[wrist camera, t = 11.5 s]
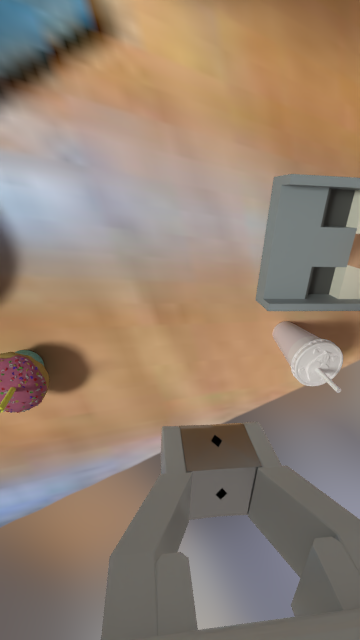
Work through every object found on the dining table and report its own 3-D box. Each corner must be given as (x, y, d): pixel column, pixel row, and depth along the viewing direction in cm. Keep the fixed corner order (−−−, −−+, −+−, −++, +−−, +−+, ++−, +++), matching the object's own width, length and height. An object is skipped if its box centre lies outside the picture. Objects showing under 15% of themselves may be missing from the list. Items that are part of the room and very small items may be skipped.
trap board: (274, 177, 35) (291, 174, 31) (391, 183, 37) (421, 181, 33) (255, 299, 41) (267, 311, 37) (356, 300, 43) (379, 310, 39)
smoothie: (256, 343, 44) (302, 402, 31) (276, 307, 42) (334, 354, 29) (290, 354, 46) (347, 415, 33) (311, 320, 44) (380, 370, 31)
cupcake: (23, 327, 39) (-24, 376, 28) (70, 366, 42) (44, 424, 31) (-19, 363, 40) (-80, 424, 29) (30, 399, 43) (-9, 466, 32)
